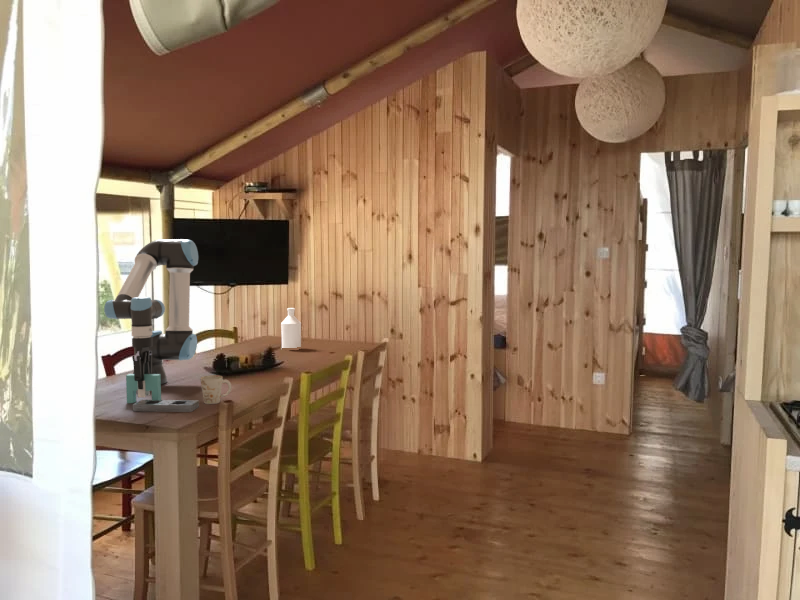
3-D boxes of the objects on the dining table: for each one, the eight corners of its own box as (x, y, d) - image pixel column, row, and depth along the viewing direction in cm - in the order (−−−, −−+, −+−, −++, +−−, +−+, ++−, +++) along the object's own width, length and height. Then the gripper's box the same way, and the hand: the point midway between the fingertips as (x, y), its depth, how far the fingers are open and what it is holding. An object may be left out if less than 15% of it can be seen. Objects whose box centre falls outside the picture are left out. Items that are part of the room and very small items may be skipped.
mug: (197, 402, 255) (196, 377, 255) (225, 397, 264) (225, 373, 263) (207, 405, 250) (206, 380, 249) (236, 400, 258) (236, 375, 258)
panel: (126, 403, 254) (126, 375, 253) (130, 401, 257) (129, 373, 256) (158, 403, 253) (157, 375, 252) (161, 401, 256) (160, 374, 255)
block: (132, 411, 241) (132, 404, 241) (142, 406, 249) (142, 399, 249) (191, 411, 240) (191, 405, 240) (198, 406, 248) (198, 400, 248)
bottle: (294, 347, 401) (294, 307, 399) (305, 349, 392) (304, 308, 390) (277, 349, 393) (277, 308, 391) (287, 351, 384) (287, 309, 382)
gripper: (142, 339, 245) (144, 400, 247) (160, 334, 261) (161, 391, 263) (123, 339, 245) (125, 400, 247) (141, 334, 261) (143, 391, 263)
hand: (143, 395), depth 255 cm, fingers closed on panel, 3 cm apart
